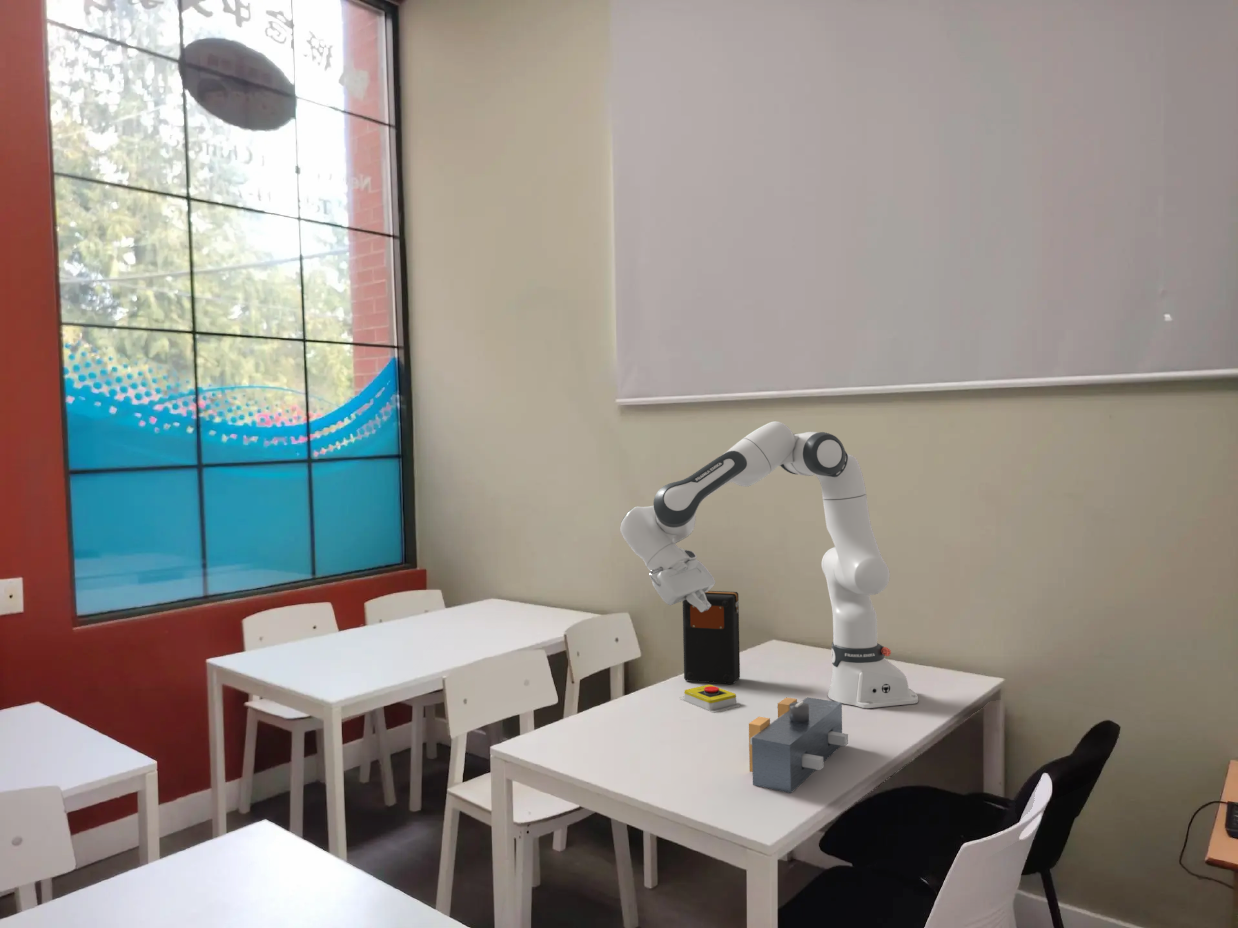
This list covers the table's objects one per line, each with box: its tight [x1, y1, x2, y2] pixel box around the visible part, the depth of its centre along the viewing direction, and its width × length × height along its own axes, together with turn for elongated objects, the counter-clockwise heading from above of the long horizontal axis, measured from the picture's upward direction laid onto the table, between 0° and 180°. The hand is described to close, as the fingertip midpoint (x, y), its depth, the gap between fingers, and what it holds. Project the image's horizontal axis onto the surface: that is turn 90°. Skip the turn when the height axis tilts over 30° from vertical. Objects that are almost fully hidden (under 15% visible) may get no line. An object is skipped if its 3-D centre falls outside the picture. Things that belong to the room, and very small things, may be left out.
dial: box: [789, 700, 809, 722], centre depth 184 cm, size 4×4×3 cm
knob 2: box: [777, 696, 849, 747], centre depth 191 cm, size 14×5×10 cm, turn 57°
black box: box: [681, 590, 741, 685], centre depth 247 cm, size 16×9×25 cm, turn 71°
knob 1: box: [748, 716, 824, 773], centre depth 178 cm, size 14×5×10 cm, turn 57°
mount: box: [750, 697, 843, 794], centre depth 185 cm, size 8×30×10 cm, turn 147°
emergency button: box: [678, 684, 741, 714], centre depth 228 cm, size 9×4×15 cm
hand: (706, 609), depth 203 cm, fingers closed
